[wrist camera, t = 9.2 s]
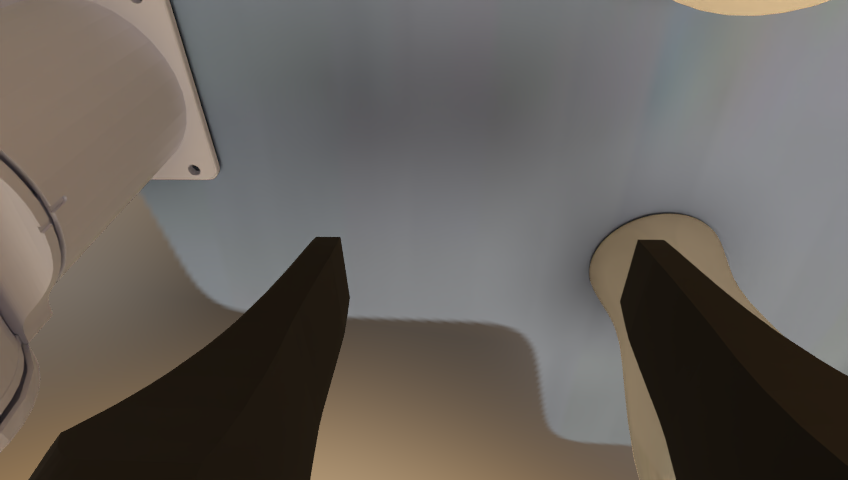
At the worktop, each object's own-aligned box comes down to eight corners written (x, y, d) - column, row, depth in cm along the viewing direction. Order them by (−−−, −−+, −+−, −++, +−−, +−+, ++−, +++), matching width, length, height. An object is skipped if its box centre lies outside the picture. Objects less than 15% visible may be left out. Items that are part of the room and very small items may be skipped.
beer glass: (555, 294, 27) (637, 657, 15) (626, 185, 22) (820, 567, 11) (674, 326, 28) (841, 689, 16) (762, 227, 23) (1080, 619, 12)
